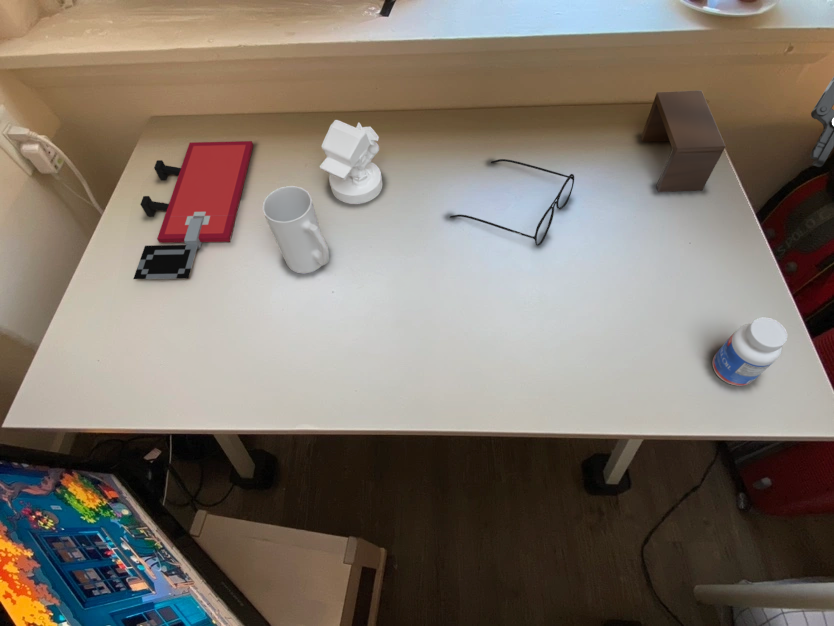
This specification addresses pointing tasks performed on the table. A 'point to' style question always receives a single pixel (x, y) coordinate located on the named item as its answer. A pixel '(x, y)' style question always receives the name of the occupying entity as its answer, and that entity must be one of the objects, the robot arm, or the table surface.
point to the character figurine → (352, 162)
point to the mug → (296, 228)
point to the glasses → (545, 212)
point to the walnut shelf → (684, 139)
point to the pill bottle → (750, 351)
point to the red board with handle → (195, 206)
